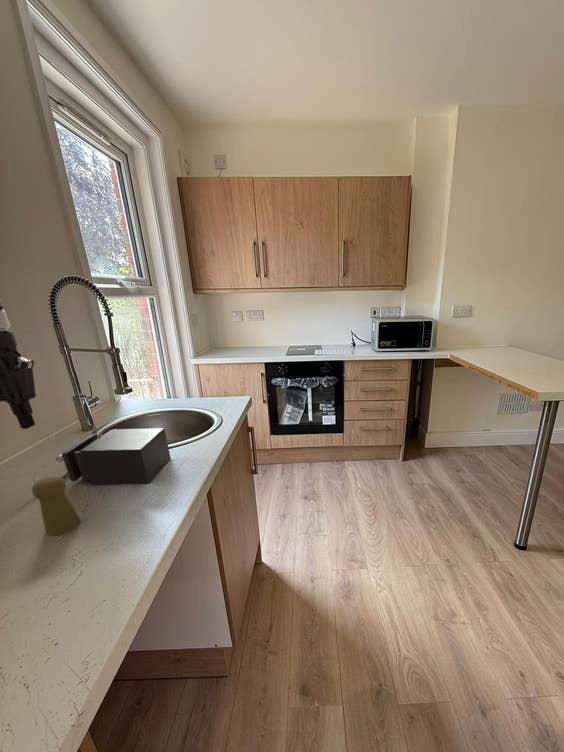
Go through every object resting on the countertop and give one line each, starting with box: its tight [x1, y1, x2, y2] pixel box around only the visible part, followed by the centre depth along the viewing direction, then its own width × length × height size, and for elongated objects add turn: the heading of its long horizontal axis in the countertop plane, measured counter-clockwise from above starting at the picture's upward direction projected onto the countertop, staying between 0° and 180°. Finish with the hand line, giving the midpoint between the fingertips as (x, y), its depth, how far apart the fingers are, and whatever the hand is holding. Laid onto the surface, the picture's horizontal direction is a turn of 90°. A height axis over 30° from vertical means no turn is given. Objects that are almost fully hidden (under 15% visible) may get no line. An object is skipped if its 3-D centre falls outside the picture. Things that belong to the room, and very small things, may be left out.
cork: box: [31, 475, 82, 537], centre depth 70 cm, size 6×6×11 cm
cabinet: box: [80, 427, 172, 486], centre depth 91 cm, size 15×14×10 cm
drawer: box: [54, 433, 104, 482], centre depth 91 cm, size 18×12×8 cm
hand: (28, 426), depth 88 cm, fingers closed
